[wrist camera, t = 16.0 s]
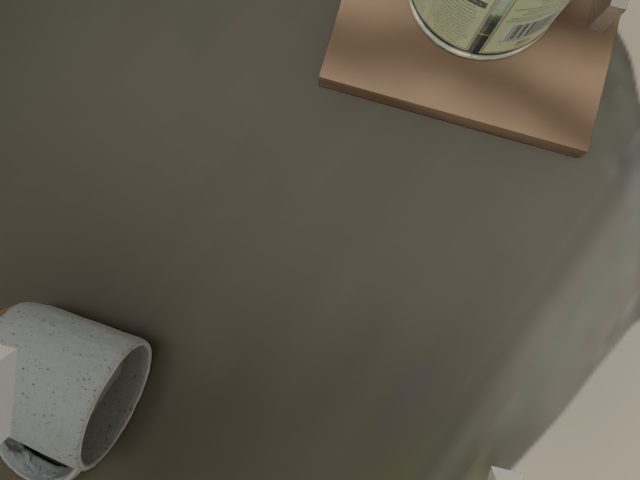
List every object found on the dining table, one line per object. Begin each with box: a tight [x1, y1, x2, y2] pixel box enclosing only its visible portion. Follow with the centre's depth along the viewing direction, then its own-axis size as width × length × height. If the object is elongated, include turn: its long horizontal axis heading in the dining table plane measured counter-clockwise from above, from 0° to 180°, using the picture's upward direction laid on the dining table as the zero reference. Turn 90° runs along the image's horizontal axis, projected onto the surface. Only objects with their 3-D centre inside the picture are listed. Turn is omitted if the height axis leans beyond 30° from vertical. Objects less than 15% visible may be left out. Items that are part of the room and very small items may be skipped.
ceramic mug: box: [0, 302, 152, 480], centre depth 31 cm, size 11×8×8 cm
